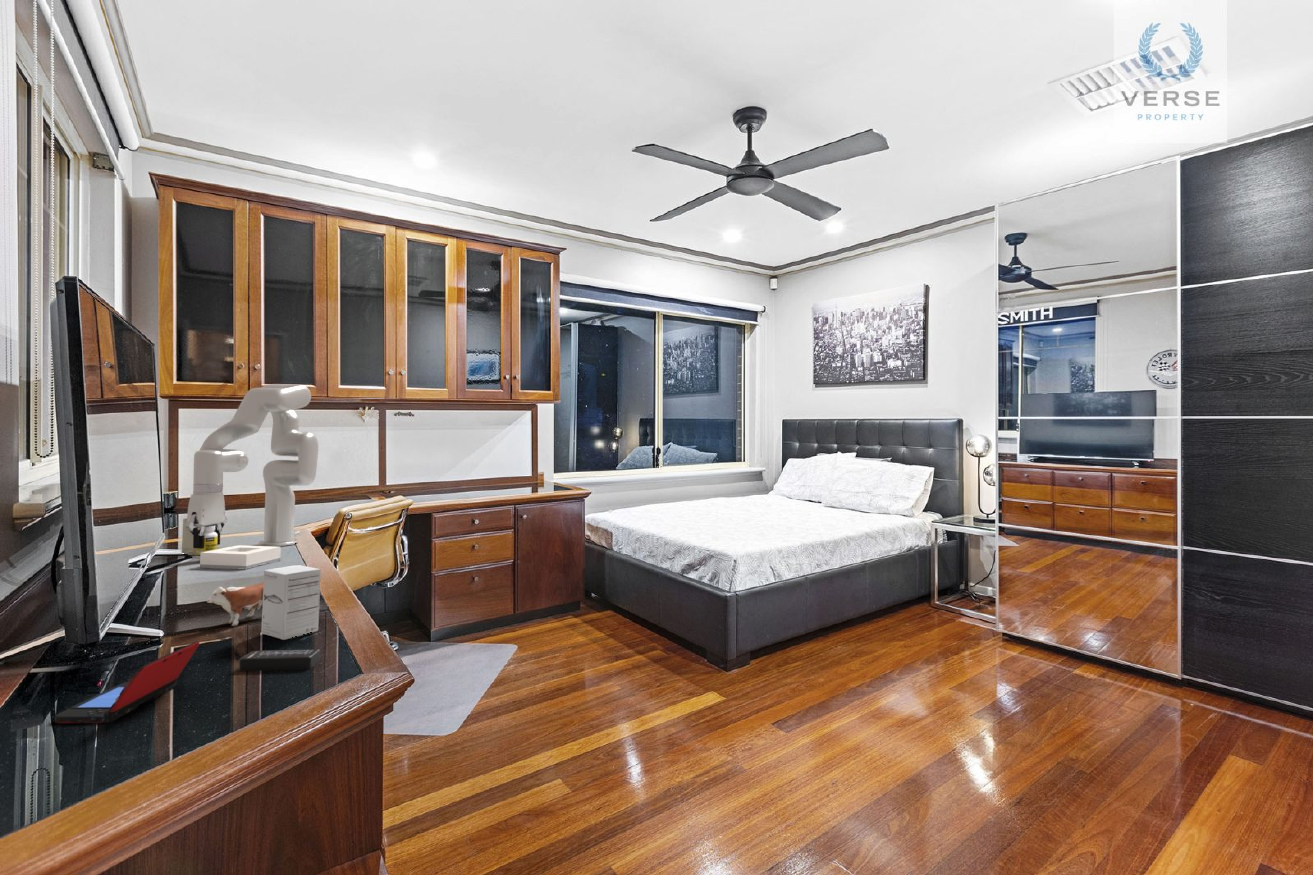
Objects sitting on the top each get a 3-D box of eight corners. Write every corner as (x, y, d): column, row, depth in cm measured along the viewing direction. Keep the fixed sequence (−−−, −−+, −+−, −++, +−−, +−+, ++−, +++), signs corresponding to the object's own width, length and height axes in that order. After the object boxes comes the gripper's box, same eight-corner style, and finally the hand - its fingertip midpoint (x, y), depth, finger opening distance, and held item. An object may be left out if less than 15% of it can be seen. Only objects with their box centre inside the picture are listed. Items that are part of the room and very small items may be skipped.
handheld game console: (126, 688, 91) (128, 638, 91) (200, 688, 92) (203, 639, 92) (48, 725, 78) (51, 668, 79) (135, 725, 79) (138, 668, 79)
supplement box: (259, 634, 117) (262, 569, 118) (297, 625, 124) (299, 564, 124) (282, 641, 114) (284, 574, 114) (319, 631, 120) (322, 567, 121)
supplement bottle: (205, 559, 187) (206, 527, 187) (191, 558, 188) (191, 526, 188) (221, 555, 192) (222, 525, 192) (207, 554, 193) (208, 524, 193)
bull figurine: (201, 629, 120) (203, 588, 120) (263, 612, 133) (264, 575, 133) (217, 631, 119) (219, 589, 119) (278, 614, 132) (279, 577, 132)
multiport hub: (309, 671, 100) (310, 657, 100) (237, 673, 98) (238, 659, 98) (320, 662, 104) (320, 648, 104) (251, 664, 102) (252, 650, 102)
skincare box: (193, 555, 199) (195, 518, 199) (180, 555, 199) (182, 518, 199) (208, 552, 205) (209, 516, 205) (195, 552, 205) (197, 516, 206)
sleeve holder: (237, 559, 194) (238, 545, 194) (280, 560, 193) (280, 546, 193) (199, 567, 179) (200, 552, 179) (246, 569, 178) (246, 554, 178)
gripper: (218, 486, 199) (217, 541, 199) (173, 491, 182) (171, 551, 182) (240, 487, 198) (238, 542, 198) (196, 491, 181) (195, 551, 181)
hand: (206, 545), depth 190 cm, fingers closed on supplement bottle, 5 cm apart
